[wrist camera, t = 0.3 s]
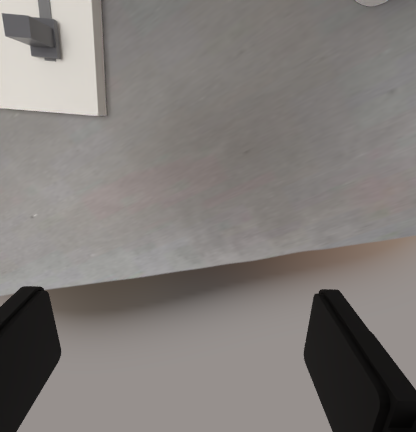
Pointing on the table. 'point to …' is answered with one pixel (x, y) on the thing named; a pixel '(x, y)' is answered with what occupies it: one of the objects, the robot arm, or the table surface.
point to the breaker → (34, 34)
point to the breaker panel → (56, 60)
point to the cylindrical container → (371, 2)
